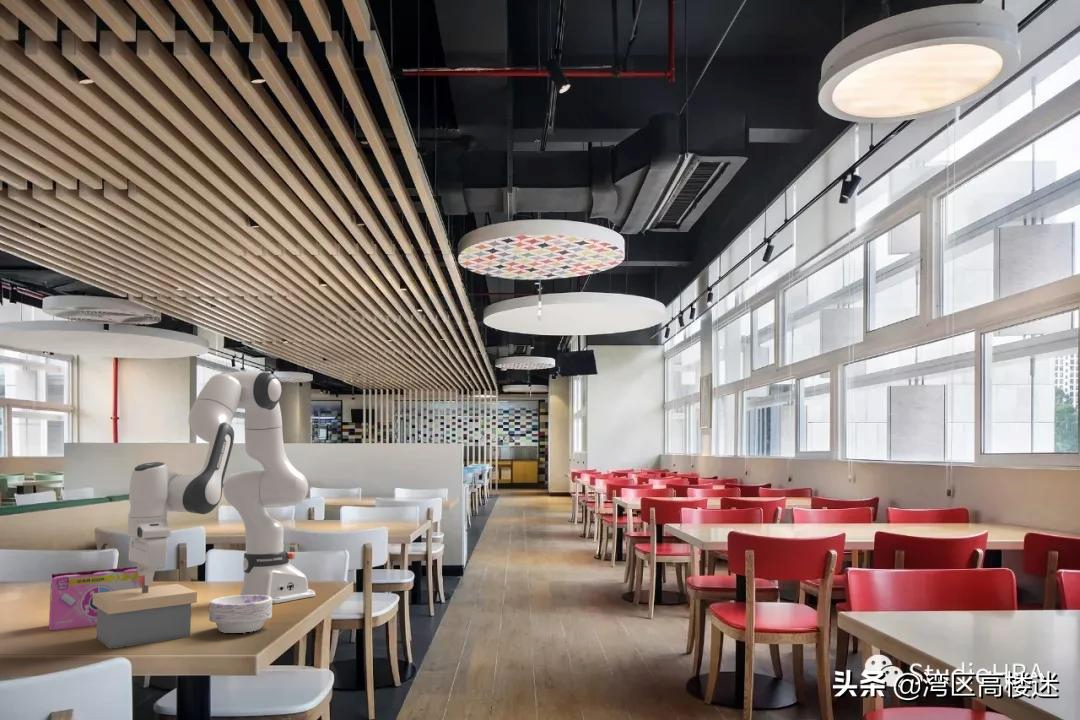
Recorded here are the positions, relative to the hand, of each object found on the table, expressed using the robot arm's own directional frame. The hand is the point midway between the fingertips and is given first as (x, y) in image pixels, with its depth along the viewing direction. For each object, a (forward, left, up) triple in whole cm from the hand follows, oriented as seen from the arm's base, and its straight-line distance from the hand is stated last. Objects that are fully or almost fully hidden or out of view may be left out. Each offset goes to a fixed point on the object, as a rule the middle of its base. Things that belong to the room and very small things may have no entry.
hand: (145, 584), depth 202 cm
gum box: (+5, -27, -13) cm, 30 cm away
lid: (0, 0, -5) cm, 5 cm away
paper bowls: (-21, +9, -13) cm, 26 cm away
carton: (0, 0, -13) cm, 13 cm away
